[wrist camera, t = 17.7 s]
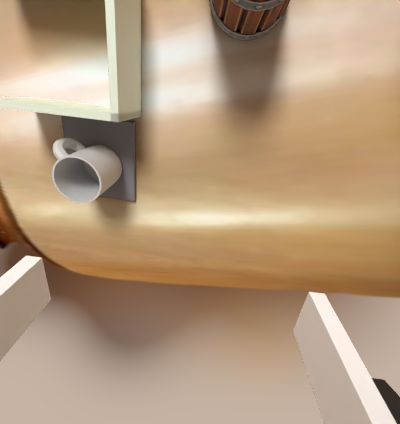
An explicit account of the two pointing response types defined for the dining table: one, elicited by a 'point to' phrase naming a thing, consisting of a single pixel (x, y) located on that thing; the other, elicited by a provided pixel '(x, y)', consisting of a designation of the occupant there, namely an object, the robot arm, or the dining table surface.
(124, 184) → the mat
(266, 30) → the mug
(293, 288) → the dining table surface
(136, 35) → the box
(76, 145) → the cup
